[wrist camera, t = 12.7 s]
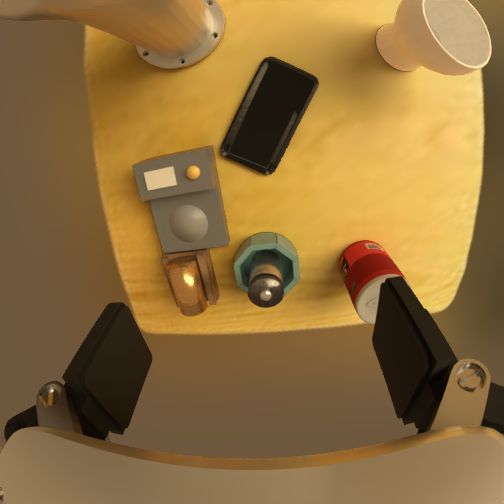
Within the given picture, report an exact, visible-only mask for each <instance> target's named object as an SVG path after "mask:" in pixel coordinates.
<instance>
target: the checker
mask: <svg viewBox="0 0 504 504" xmlns="http://www.w3.org/2000/svg"><path fill="white" fill-rule="evenodd" d="M132 166H133V170H134V174H135V178H136V183H137V187H138V191H139V195H140V198H141V201H146V200H149V203H150V206H151V210H152V214H153V218H154V221H155V225H156V229H157V232H158V236H159V239H160V243H161V246H162V249H163V253H170V252H178V251H187V250H195V249H204V248H213V247H221V246H228V245H229V242H230V237H229V232H228V227H227V221H226V216H225V211H224V205H223V200H222V194H221V189H220V183H219V178H218V172H217V167H216V161H215V155H214V150H213V145H212V146H207V147H201V148H196V149H191V150H186V151H181V152H176V153H172V154H167V155H163V156H158V157H154V158H150V159H146V160H143V161H141V162H139V163H137V164H134V165H132Z"/></svg>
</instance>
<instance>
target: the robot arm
mask: <svg viewBox="0 0 504 504" xmlns="http://www.w3.org/2000/svg"><path fill="white" fill-rule="evenodd" d="M210 4H212V5H210ZM0 19H3V20H12V21H41V20H67V21H74V22H78V23H82V24H85V25H88V26H91V27H94V28H97V29H99V30H102V31H105V32H107V33H110V34H112V35H115V36H117V37H119V38H122V39H124V40H126V41H129V42H131V43H133V44H135V47H136V49H137V51H138V53H139V55H140V56H141V57H142V58H143V59H144V60H145V61H147V62H148V63H149V64H152V65H154V66H157V67H160V68H165V69H179V68H183V67H187V66H190V65H193V64H195V63H197V62H199V61H201V60H202V59H204V58H205V57H206V56H208V55H209V54H210V53H211V52H212V51H213V50H214V49H215V48H216V47H217V45H218V44H219V42H220V41H221V39H222V36H223V34H224V30H225V17H224V13H223V11H222V9H221V6H220V5H219V4H218V3H217V1H216V0H0ZM216 35H217V36H218V37H217V38H214V36H216ZM148 53H149V54H148ZM147 54H148V56H147ZM182 61H185V62H184V63H183V64H182ZM372 342H373V347H374V350H375V352H376V355H377V357H378V360H379V363H380V366H381V369H382V372H383V375H384V378H385V381H386V384H387V387H388V390H389V393H390V396H391V399H392V402H393V405H394V409H395V412H396V415H397V417H398V418H402V420H403V423H404V425H406V424H409V423H413V422H414V423H415V426H416V428H417V431H416V433H415V435H413V436H408V437H404V438H401V439H397V440H393V441H389V442H385V443H380V444H377V445H371V446H366V447H361V448H356V449H350V450H345V451H339V452H332V453H326V454H318V455H309V456H299V457H285V458H265V459H264V458H262V459H230V458H229V459H228V458H210V457H196V456H186V455H178V454H170V453H163V452H156V451H150V450H144V449H138V448H134V447H129V446H124V445H119V444H116V443H112V442H111V441H110V438H109V436H108V433H109V431H111V432H112V433H116V434H121V435H123V433H124V430H125V429H126V428H128V426H129V424H130V421H131V418H132V415H133V412H134V409H135V406H136V404H137V401H138V398H139V395H140V392H141V389H142V387H143V384H144V381H145V379H146V376H147V373H148V370H149V368H150V365H151V363H152V354H151V352H150V350H149V348H148V346H147V344H146V342H145V340H144V338H143V336H142V334H141V332H140V330H139V328H138V326H137V324H136V322H135V320H134V318H133V315H132V313H131V311H130V309H129V307H127V306H125V304H124V303H122V302H119V303H109V304H108V305H107V306H106V308H105V309H104V311H103V313H102V314H101V315H100V317H99V318H98V320H97V321H96V323H95V324H94V326H93V328H92V329H91V331H90V332H89V334H88V335H87V337H86V338H85V340H84V342H83V343H82V345H81V346H80V348H79V350H78V351H77V353H76V354H75V356H74V358H73V360H72V361H71V363H70V364H69V366H68V368H67V370H66V371H65V373H64V375H63V377H62V378H63V379H64V381H65V382H66V383H65V384H64V385H63V384H62V383H61V382H59V381H51V382H48V383H46V384H45V385H44V386H43V387H41V389H40V390H39V392H38V394H37V396H36V405H35V406H33V407H31V408H29V409H27V410H25V411H24V412H22V413H20V414H18V415H16V416H14V417H12V418H11V419H10V420H9V421H8V422H7V424H6V426H5V432H4V434H1V435H0V504H504V387H502V386H500V385H497V384H495V383H492V382H490V374H489V371H488V369H487V368H486V367H485V366H484V365H483V364H482V363H481V362H479V361H477V360H474V359H463V360H461V361H459V362H458V360H457V358H456V356H455V355H454V353H453V351H452V349H451V348H450V346H449V344H448V343H447V341H446V339H445V337H444V336H443V334H442V333H441V331H440V330H439V328H438V326H437V324H436V323H435V321H434V320H433V318H432V317H431V315H430V313H429V312H428V311H427V310H426V309H425V308H423V306H422V305H421V303H420V302H419V300H418V299H417V297H416V296H415V294H414V293H413V291H412V290H411V288H410V287H409V285H408V284H407V282H406V281H405V280H404V278H403V277H402V276H396V277H389V278H386V280H385V282H384V283H381V286H380V293H379V300H378V307H377V314H376V320H375V326H374V332H373V338H372Z"/></svg>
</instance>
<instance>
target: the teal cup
mask: <svg viewBox="0 0 504 504" xmlns="http://www.w3.org/2000/svg"><path fill="white" fill-rule="evenodd" d="M264 249H268V250H272V251H274V252H276V253H277V254H278V255H279V257H280V260H281V270H282V281H283V287H284V296H285V295H286V294H287V293H288V292H289V291H290V290H291V289H292V288H293V287H294V286H295V285H296V284H297V283H298V282H299V280H300V276H299V262H298V255H297V250H296V248H295V247H294V246H293V244H292V243H291V242H290V241H289V240H288V239H287V238H285V237H284V236H282V235H280V234H277V233H273V232H261V233H257V234H254V235H252V236H250V237H249V238H247V239H246V240H245V241H244V242H243V243H242V244H241V246H240V248H239V250H238V252H237V253H236V255H235V260H234V265H233V266H234V271H235V276H236V281H237V286H238V287H239V288H240V289H242V290H243V291H245V292H247V293H248V287H249V280H250V270H251V260H252V257H253V255H254V254H255V253H256V252H258V251H260V250H264ZM284 296H283V297H284Z"/></svg>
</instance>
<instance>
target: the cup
mask: <svg viewBox="0 0 504 504" xmlns="http://www.w3.org/2000/svg"><path fill="white" fill-rule="evenodd" d="M376 45H377V48H378V51H379V53H380V54H381V56H382V57H383V59H384V60H385V61H386V62H387V63H388V64H390V65H391V66H392V67H394V68H396V69H398V70H401V71H412V70H415V69H417V68H419V67H421V66H423V67H425V68H427V69H430V70H432V71H435V72H438V73H441V74H444V75H453V76H454V75H465V74H469V73H472V72H474V71H476V70H478V69H480V68H482V67H483V66H484V65H486V64H487V62H488V60H489V58H490V55H491V41H490V36H489V33H488V30H487V27H486V25H485V23H484V21H483V19H482V18H481V16H480V15H479V13H478V12H477V11H476V9H475V8H474V7H473V6H472V5H471V4H470V3H469V2H468V1H467V0H402V2H401V3H400V5H399V7H398V10H397V12H396V16H395V22H393V23H389V24H386V25H384V26H382V27H381V28H380V29H379V30H378V32H377V35H376Z"/></svg>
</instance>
